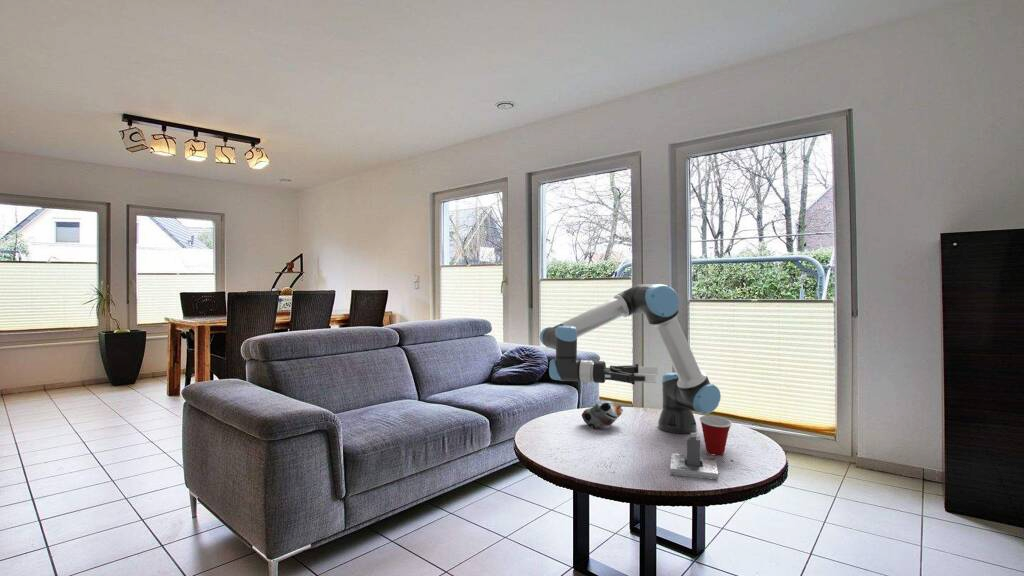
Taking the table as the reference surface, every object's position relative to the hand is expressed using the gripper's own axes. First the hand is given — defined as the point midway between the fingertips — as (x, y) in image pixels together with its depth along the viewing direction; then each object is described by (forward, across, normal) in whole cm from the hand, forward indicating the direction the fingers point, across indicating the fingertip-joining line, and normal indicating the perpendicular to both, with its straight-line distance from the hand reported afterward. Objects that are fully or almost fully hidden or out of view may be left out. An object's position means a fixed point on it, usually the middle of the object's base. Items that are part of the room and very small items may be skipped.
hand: (656, 374), depth 170 cm
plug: (+12, +2, -30) cm, 32 cm away
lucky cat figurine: (-24, -38, -30) cm, 54 cm away
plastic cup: (+19, -17, -30) cm, 40 cm away
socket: (+12, +2, -30) cm, 32 cm away
